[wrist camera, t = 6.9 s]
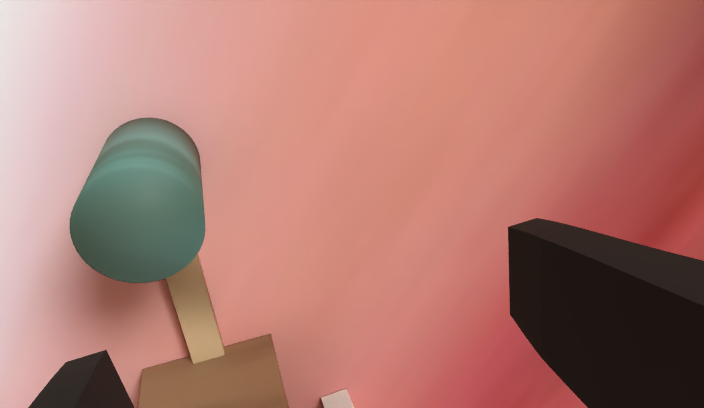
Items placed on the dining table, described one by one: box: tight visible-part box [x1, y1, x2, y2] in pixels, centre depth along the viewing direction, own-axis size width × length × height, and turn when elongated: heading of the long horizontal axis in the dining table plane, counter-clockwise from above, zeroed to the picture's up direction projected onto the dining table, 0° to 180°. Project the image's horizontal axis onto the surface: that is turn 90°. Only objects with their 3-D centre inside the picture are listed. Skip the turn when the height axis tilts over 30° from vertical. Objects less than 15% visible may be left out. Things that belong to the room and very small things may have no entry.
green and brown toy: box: [70, 118, 289, 408], centre depth 16 cm, size 14×5×6 cm, turn 7°
